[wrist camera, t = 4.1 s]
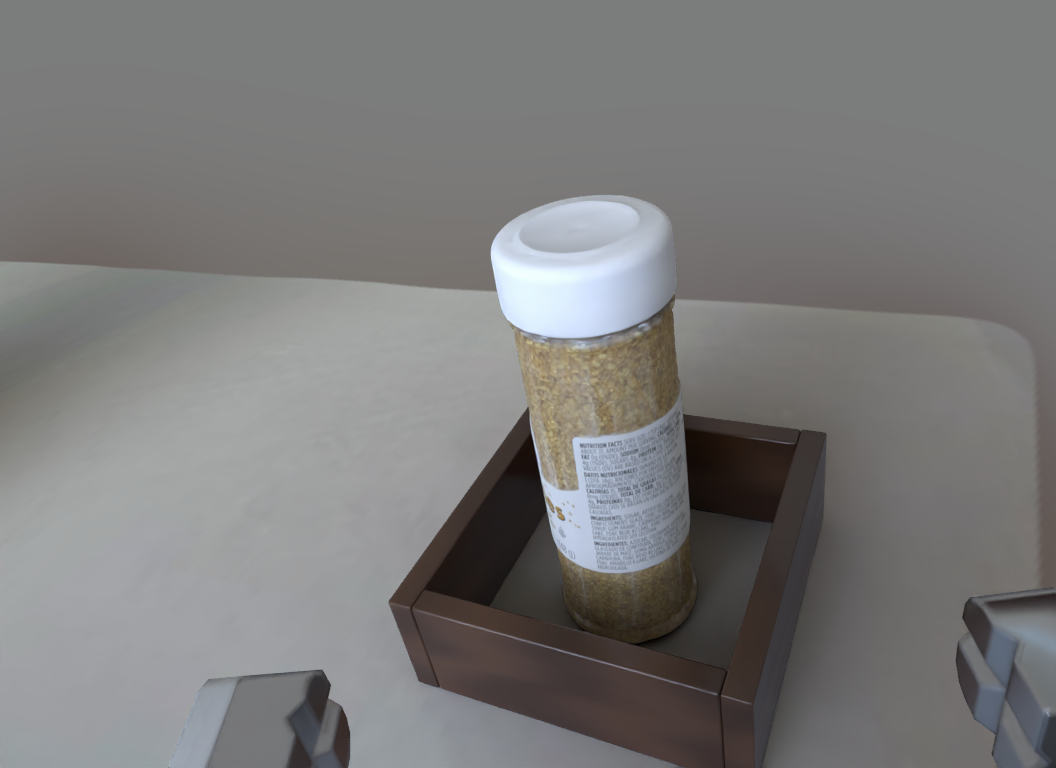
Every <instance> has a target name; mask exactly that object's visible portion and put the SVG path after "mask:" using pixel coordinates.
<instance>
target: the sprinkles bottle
mask: <svg viewBox="0 0 1056 768" xmlns="http://www.w3.org/2000/svg"><path fill="white" fill-rule="evenodd" d="M491 260H492V266H493V271H494V277H495V282H496V286H497V292H498V296H499V301H500V305H501V308H502V312H503V314H504V315H505V317H506V318H507V319H508V323H509V325H510V326H511V328H512V329H513V330H514V334H515V342H516V348H517V351H518V356H519V362H520V366H521V370H522V376H523V382H524V388H525V391H526V396H527V404H528V407H529V411H530V425H531V432H532V437H533V442H534V446H535V452H536V457H537V462H538V467H539V472H540V477H541V482H542V487H543V492H544V497H545V502H546V507H547V512H548V517H549V522H550V527H551V532H552V536H553V539H554V541H555V543H556V546H557V550H558V557H559V560H560V565H561V568H562V578H563V584H562V593H563V599H564V602H565V605H566V608H567V610H568V612H569V613H570V615H571V616H572V618H573V619H574V620H575V621H576V622H577V624H578V625H579V626H580V627H581V628H582V629H583V630H585V631H588V632H589V633H591V634H595V635H598V636H602V637H606V638H610V639H613V640H617V641H621V642H625V643H640V642H644V641H647V640H650V639H655V638H658V637H661V636H663V635H665V634H667V633H669V632H671V631H673V630H674V629H675V628H676V627H677V626H679V625H680V624H682V623H683V622H684V621H685V619H686V618H687V617H688V615H689V614H690V612H691V610H692V608H693V605H694V603H695V600H696V595H697V579H696V574H695V572H694V569H693V567H692V565H691V555H690V538H689V528H690V506H689V491H688V476H687V461H686V447H685V433H684V420H683V407H682V393H681V384H680V380H679V378H678V367H677V362H676V351H675V337H674V319H673V312H672V308H673V306H674V301H675V295H674V293H675V291H676V286H677V270H676V257H675V246H674V238H673V230H672V225H671V222H670V220H669V218H668V217H667V215H666V214H665V213H664V212H663V211H662V210H661V209H660V208H658V207H657V206H655V205H653V204H651V203H649V202H646V201H643V200H640V199H637V198H633V197H628V196H618V195H591V196H582V197H575V198H569V199H564V200H559V201H556V202H552V203H548V204H546V205H543V206H540V207H537V208H535V209H532V210H530V211H528V212H526V213H524V214H522V215H520V216H518V217H517V218H515V219H513V220H512V221H510V222H509V223H508V224H507V225H506V226H504V227H503V228H502V230H501V231H500V232H499V233H498V234H497V236H496V237H495V239H494V241H493V244H492V247H491Z"/></svg>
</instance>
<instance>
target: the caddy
mask: <svg viewBox="0 0 1056 768" xmlns="http://www.w3.org/2000/svg"><path fill="white" fill-rule="evenodd" d="M683 420H684V433H685V447H686V461H687V476H688V491H689V506H690V508H695V509H700V510H706V511H711V512H716V513H722V514H727V515H733V516H738V517H744V518H749V519H755V520H760V521H766V522H771V523H773V525H772V528H771V531H770V535H769V538H768V541H767V544H766V548H765V551H764V554H763V557H762V561H761V564H760V567H759V571H758V574H757V577H756V580H755V584H754V587H753V590H752V593H751V597H750V600H749V603H748V606H747V610H746V613H745V616H744V619H743V623H742V626H741V629H740V632H739V636H738V639H737V642H736V646H735V649H734V652H733V655H732V659H731V662H730V665H729V668H728V672H727V671H726V670H725V669H723V668H719V667H715V666H711V665H708V664H704V663H700V662H696V661H693V660H689V659H685V658H681V657H677V656H674V655H670V654H666V653H662V652H659V651H655V650H651V649H647V648H644V647H640V646H636V645H632V644H629V643H625V642H621V641H617V640H613V639H610V638H606V637H602V636H598V635H595V634H591V633H587V632H583V631H580V630H576V629H572V628H568V627H565V626H561V625H557V624H553V623H549V622H546V621H542V620H538V619H534V618H531V617H527V616H523V615H519V614H516V613H512V612H508V611H504V610H501V609H497V608H493V607H489V604H490V602H491V601H492V599H493V597H494V596H495V594H496V592H497V591H498V589H499V587H500V586H501V584H502V582H503V581H504V579H505V577H506V576H507V574H508V572H509V571H510V569H511V567H512V566H513V564H514V562H515V561H516V559H517V557H518V556H519V554H520V552H521V551H522V549H523V548H524V546H525V544H526V543H527V541H528V539H529V538H530V536H531V534H532V533H533V531H534V529H535V528H536V526H537V524H538V523H539V521H540V519H541V518H542V516H543V514H544V513H545V511H546V509H547V507H546V502H545V497H544V492H543V487H542V482H541V477H540V472H539V467H538V462H537V457H536V452H535V446H534V442H533V437H532V432H531V425H530V411H529V407H528V408H527V409H526V411H525V412H524V414H523V415H522V416H521V418H520V419H519V420H518V422H517V423H516V425H515V426H514V427H513V429H512V430H511V432H510V433H509V434H508V436H507V437H506V439H505V440H504V441H503V443H502V444H501V446H500V447H499V448H498V450H497V451H496V453H495V454H494V455H493V457H492V458H491V459H490V461H489V462H488V464H487V465H486V466H485V468H484V469H483V471H482V472H481V473H480V475H479V476H478V478H477V479H476V480H475V482H474V483H473V485H472V486H471V487H470V489H469V490H468V492H467V493H466V494H465V496H464V497H463V499H462V500H461V501H460V503H459V504H458V505H457V507H456V508H455V510H454V511H453V512H452V514H451V515H450V517H449V518H448V519H447V521H446V522H445V524H444V525H443V526H442V528H441V529H440V531H439V532H438V533H437V535H436V536H435V538H434V539H433V540H432V542H431V543H430V544H429V546H428V547H427V549H426V550H425V551H424V553H423V554H422V556H421V557H420V558H419V560H418V561H417V563H416V564H415V565H414V567H413V568H412V570H411V571H410V572H409V574H408V575H407V577H406V578H405V579H404V581H403V582H402V583H401V585H400V586H399V588H398V589H397V590H396V592H395V593H394V595H393V596H392V597H391V599H390V600H389V605H390V608H391V611H392V613H393V616H394V618H395V621H396V623H397V626H398V628H399V631H400V634H401V636H402V639H403V641H404V644H405V646H406V649H407V652H408V654H409V657H410V659H411V662H412V664H413V667H414V670H415V672H416V675H417V677H418V680H419V681H420V682H423V683H426V684H429V685H432V686H435V687H441V688H442V689H445V690H448V691H451V692H454V693H458V694H461V695H464V696H467V697H470V698H473V699H476V700H479V701H482V702H485V703H488V704H491V705H494V706H498V707H501V708H504V709H507V710H510V711H513V712H516V713H519V714H522V715H525V716H528V717H531V718H534V719H538V720H541V721H544V722H547V723H550V724H553V725H556V726H559V727H562V728H565V729H568V730H571V731H574V732H578V733H581V734H584V735H587V736H590V737H593V738H596V739H599V740H602V741H605V742H608V743H611V744H614V745H618V746H621V747H624V748H627V749H630V750H633V751H636V752H639V753H642V754H645V755H648V756H651V757H654V758H658V759H661V760H664V761H667V762H670V763H673V764H676V765H679V766H682V767H685V768H762V764H763V759H764V755H765V751H766V747H767V743H768V739H769V735H770V731H771V727H772V723H773V719H774V715H775V711H776V707H777V703H778V698H779V694H780V690H781V686H782V682H783V678H784V674H785V670H786V666H787V662H788V658H789V654H790V650H791V646H792V642H793V637H794V633H795V629H796V625H797V621H798V617H799V613H800V609H801V605H802V601H803V597H804V593H805V589H806V585H807V580H808V576H809V572H810V568H811V564H812V560H813V556H814V552H815V548H816V544H817V540H818V536H819V532H820V528H821V524H822V519H823V509H824V485H825V460H826V436H827V435H826V433H823V432H816V431H808V430H802V431H800V430H798V429H790V428H783V427H775V426H768V425H760V424H753V423H745V422H737V421H730V420H722V419H715V418H707V417H700V416H692V415H685V414H683Z"/></svg>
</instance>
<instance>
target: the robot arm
mask: <svg viewBox="0 0 1056 768" xmlns="http://www.w3.org/2000/svg"><path fill="white" fill-rule="evenodd" d="M962 618H963V620H964V622H965V624H966V626H967V628H968V630H969V631H970V632H969V633H967V634H966V635H965V636H964V637H963V638H962V639H961V640H960V641H958V646H957V655H956V665H957V671H958V678H959V683H960V686H961V689H962V692H963V695H964V698H965V700H966V703H967V705H968V707H969V709H970V711H971V713H972V715H973V717H974V719H975V720H976V721H978V722H979V723H980V724H982V725H983V726H984V727H986V728H987V729H989V730H990V731H991V732H993V733H994V734H996V736H995V741H994V745H993V750H992V756H993V758H994V760H995V762H996V764H997V766H998V768H1056V588H1053V587H1050V588H1042V589H1034V590H1026V591H1018V592H1010V593H1002V594H993V595H985V596H977V597H971V598H970V599H969V600H968V601H967V602H966V603H965V607H964V612H963V617H962ZM330 687H331V684H330V682H329V681H328V679H327V677H326V675H325V673H324V672H323V670H311V671H298V672H286V673H274V674H261V675H249V676H238V677H228V678H218V679H208V681H207V682H206V683H205V684H204V685H203V686H202V688H201V689H200V690H199V692H198V694H197V696H196V699H195V701H194V704H193V706H192V709H191V711H190V714H189V716H188V719H187V722H186V724H185V727H184V729H183V732H182V734H181V737H180V739H179V742H178V744H177V747H176V749H175V752H174V755H173V757H172V760H171V762H170V765H169V767H168V768H348V766H349V760H350V731H349V726H348V722H347V717H346V715H345V713H344V711H343V709H342V706H341V705H339V704H337V703H335V702H334V701H332V700H330V699H328V696H329V691H330Z"/></svg>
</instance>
